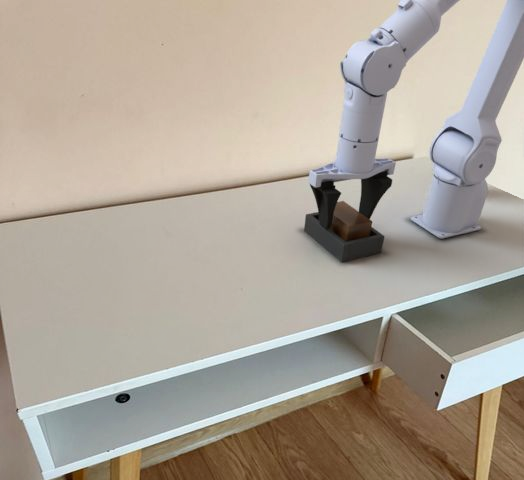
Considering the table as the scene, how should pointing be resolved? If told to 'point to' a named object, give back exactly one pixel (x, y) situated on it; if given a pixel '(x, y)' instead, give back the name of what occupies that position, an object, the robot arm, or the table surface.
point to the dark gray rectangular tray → (338, 245)
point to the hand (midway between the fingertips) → (344, 222)
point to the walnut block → (350, 223)
